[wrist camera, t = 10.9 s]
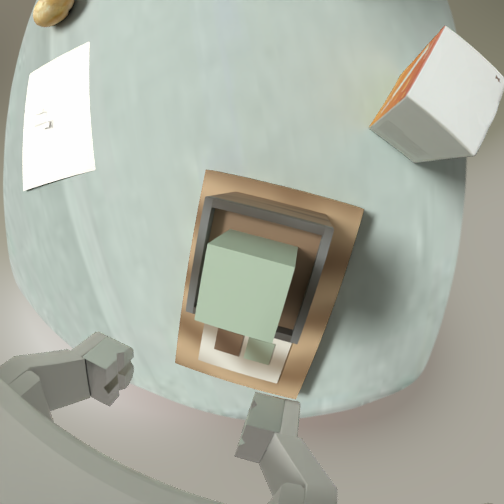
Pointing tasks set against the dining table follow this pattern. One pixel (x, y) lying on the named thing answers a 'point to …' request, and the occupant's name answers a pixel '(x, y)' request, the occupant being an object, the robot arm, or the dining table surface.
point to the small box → (441, 102)
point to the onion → (51, 11)
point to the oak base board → (321, 297)
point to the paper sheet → (58, 120)
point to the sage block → (245, 284)
